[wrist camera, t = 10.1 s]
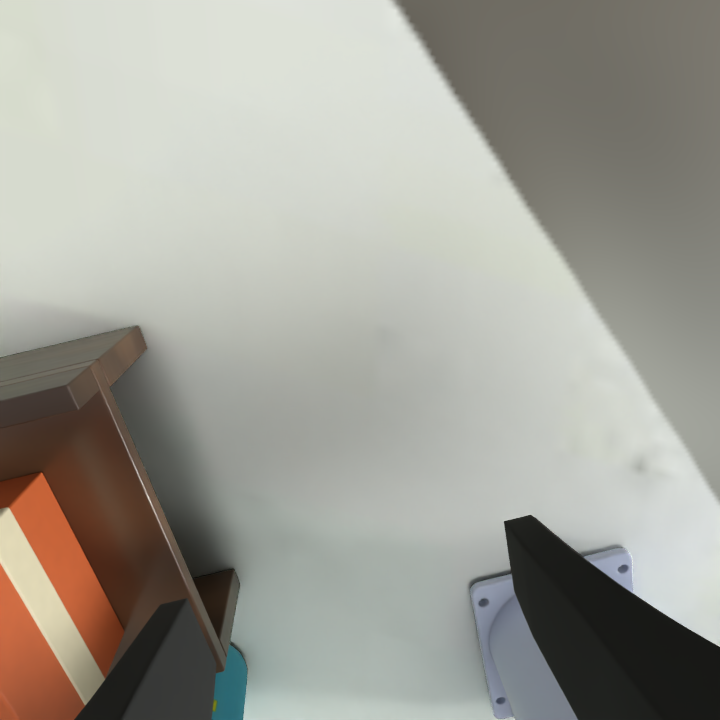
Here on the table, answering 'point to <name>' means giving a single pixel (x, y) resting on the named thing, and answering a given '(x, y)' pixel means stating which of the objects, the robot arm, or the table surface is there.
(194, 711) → the robot arm
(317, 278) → the table surface
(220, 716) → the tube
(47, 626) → the snack box
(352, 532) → the table surface
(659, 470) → the table surface
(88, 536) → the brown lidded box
